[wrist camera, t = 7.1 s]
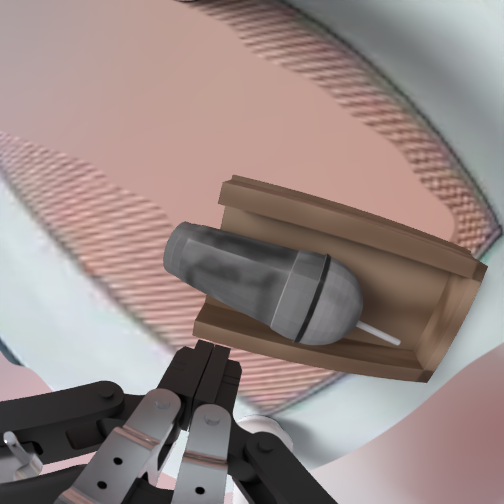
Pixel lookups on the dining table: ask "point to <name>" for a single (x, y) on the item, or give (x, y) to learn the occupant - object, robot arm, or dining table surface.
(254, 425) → the flower vase
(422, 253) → the u rest
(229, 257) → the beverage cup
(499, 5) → the dining table surface
